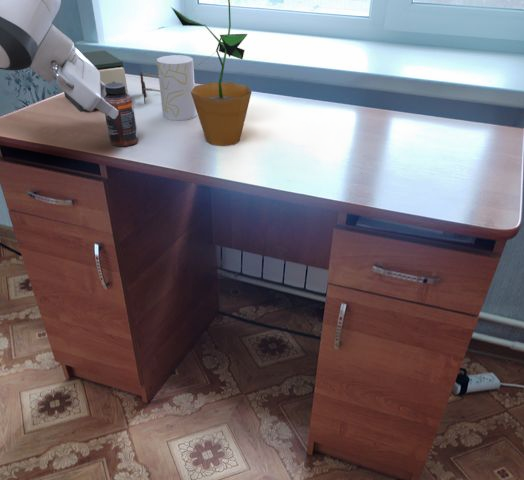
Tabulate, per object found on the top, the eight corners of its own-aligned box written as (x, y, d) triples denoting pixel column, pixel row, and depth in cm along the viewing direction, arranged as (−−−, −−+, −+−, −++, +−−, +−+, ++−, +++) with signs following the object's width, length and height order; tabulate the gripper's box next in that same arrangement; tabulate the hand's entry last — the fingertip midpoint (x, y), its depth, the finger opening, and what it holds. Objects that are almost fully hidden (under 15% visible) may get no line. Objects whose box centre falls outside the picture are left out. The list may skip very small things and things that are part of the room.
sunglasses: (141, 91, 137) (140, 71, 134) (195, 93, 140) (195, 73, 137) (145, 107, 127) (143, 85, 123) (203, 109, 130) (204, 88, 127)
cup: (156, 117, 121) (150, 61, 113) (173, 108, 127) (168, 53, 119) (186, 122, 119) (182, 65, 111) (202, 112, 124) (198, 57, 116)
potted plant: (214, 120, 120) (207, -38, 100) (280, 137, 112) (285, -31, 92) (162, 142, 109) (141, -31, 89) (230, 162, 101) (224, -22, 81)
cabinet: (129, 103, 129) (122, 61, 122) (80, 111, 124) (70, 67, 117) (111, 90, 137) (104, 50, 131) (65, 97, 132) (55, 55, 126)
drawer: (136, 108, 123) (131, 72, 118) (90, 115, 119) (83, 78, 114) (112, 90, 134) (107, 57, 129) (70, 96, 130) (62, 62, 125)
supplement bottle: (143, 139, 110) (135, 82, 102) (129, 149, 106) (119, 90, 98) (120, 135, 112) (110, 79, 104) (104, 144, 107) (93, 87, 100)
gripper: (60, 54, 87) (127, 111, 95) (65, 32, 101) (123, 82, 110) (40, 84, 89) (108, 137, 97) (48, 58, 104) (106, 106, 112)
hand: (116, 108), depth 104 cm, fingers open, 8 cm apart
